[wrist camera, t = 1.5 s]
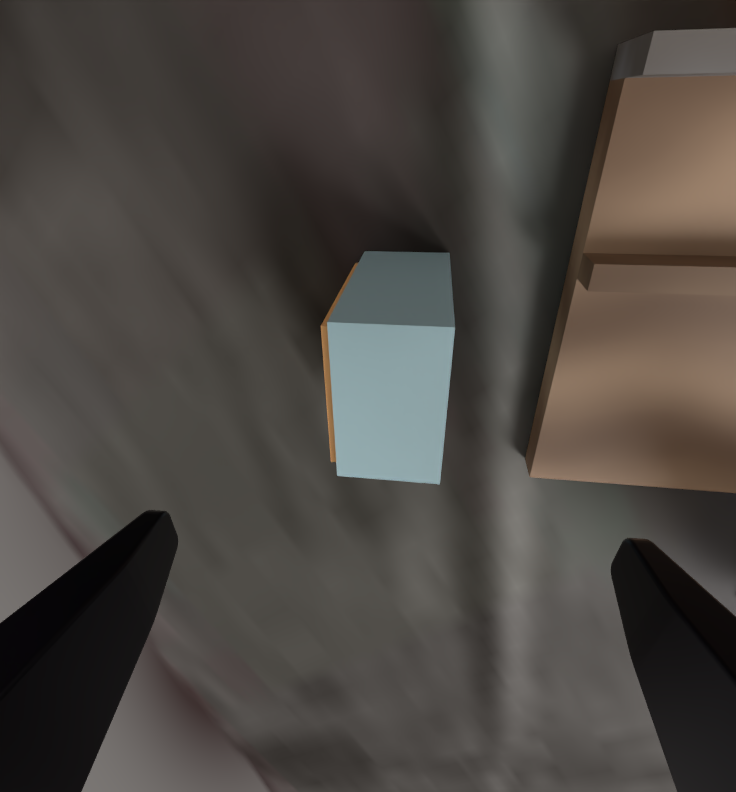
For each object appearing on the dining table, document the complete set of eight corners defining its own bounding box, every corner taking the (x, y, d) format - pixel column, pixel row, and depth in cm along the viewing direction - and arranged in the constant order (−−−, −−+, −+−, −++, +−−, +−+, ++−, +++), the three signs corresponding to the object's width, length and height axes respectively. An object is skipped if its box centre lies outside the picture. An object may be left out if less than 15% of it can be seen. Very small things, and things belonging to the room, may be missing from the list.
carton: (449, 252, 19) (455, 327, 13) (439, 373, 23) (439, 483, 16) (358, 250, 20) (316, 321, 13) (360, 369, 23) (329, 475, 16)
